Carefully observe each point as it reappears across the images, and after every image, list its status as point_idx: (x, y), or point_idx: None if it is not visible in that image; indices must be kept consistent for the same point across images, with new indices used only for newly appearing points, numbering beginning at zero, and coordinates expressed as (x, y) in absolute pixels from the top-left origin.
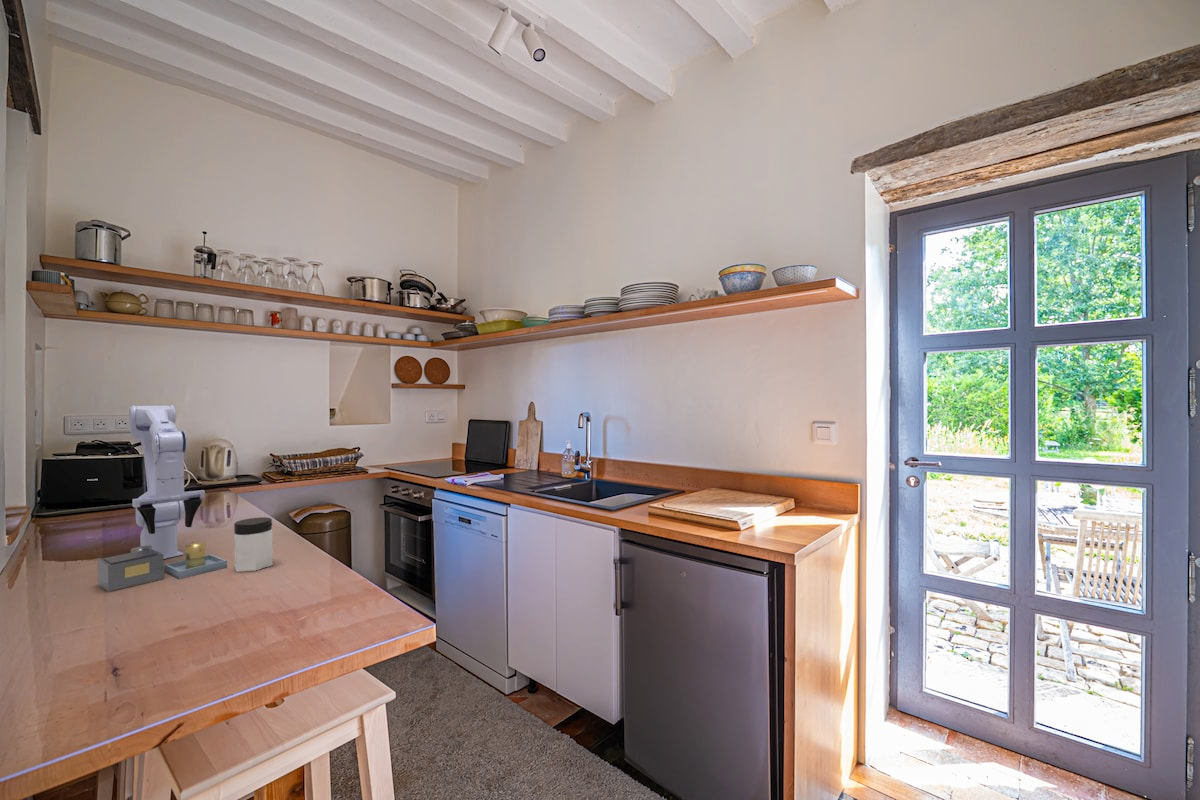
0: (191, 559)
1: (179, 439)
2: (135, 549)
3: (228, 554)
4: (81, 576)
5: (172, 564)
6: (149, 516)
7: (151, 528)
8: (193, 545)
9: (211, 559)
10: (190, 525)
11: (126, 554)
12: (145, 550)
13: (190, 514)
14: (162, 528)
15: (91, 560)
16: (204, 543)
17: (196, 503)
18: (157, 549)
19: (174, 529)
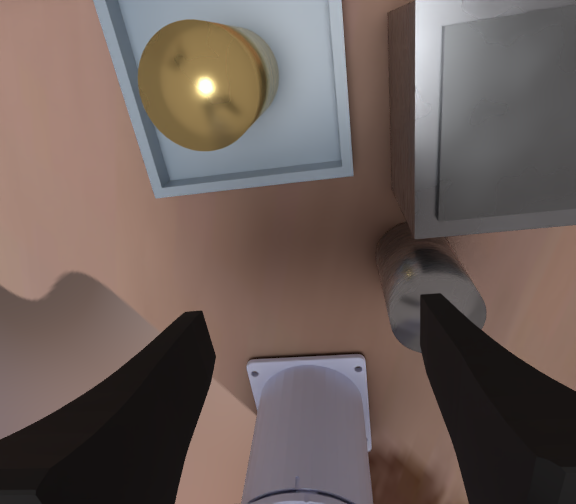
0: (249, 36)
1: None
2: (469, 307)
3: (100, 237)
4: (565, 353)
5: (320, 168)
6: (543, 388)
7: (460, 312)
8: (215, 39)
9: (161, 156)
10: (185, 315)
11: (572, 187)
12: (462, 205)
13: (146, 373)
14: (308, 482)
15: (465, 499)
16: (145, 49)
17: (13, 457)
18: (329, 396)
19: (257, 472)
